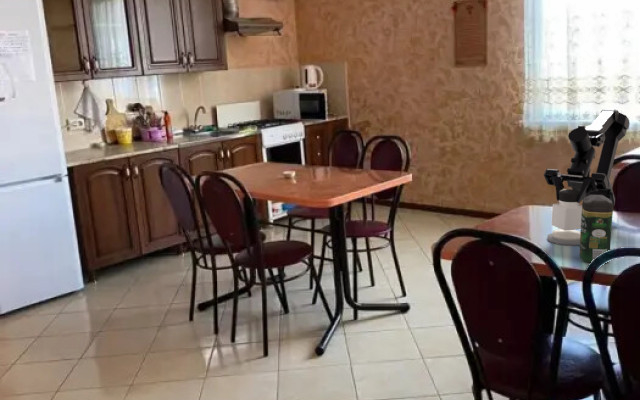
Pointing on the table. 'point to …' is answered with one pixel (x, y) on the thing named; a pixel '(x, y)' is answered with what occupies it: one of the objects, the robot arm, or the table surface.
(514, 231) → the table surface
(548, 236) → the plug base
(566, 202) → the medicine bottle
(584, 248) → the coffee jar
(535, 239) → the table surface
